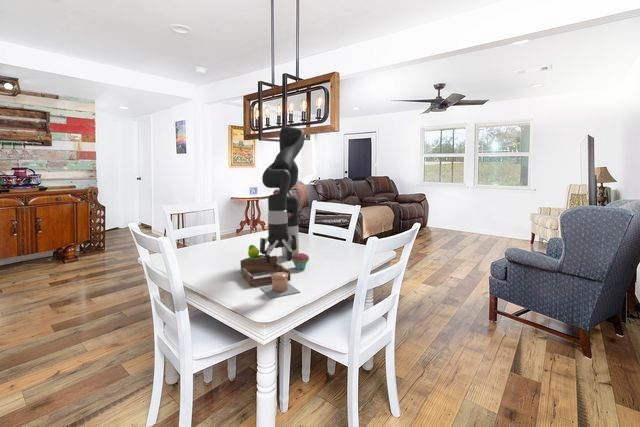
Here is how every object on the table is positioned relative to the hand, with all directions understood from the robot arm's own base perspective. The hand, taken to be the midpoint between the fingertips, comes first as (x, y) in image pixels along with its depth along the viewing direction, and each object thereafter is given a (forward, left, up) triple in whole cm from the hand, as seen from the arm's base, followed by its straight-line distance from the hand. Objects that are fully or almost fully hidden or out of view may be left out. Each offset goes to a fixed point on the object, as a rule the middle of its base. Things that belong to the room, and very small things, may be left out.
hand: (278, 262), depth 131 cm
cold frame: (-18, 0, -11) cm, 21 cm away
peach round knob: (0, 0, -11) cm, 11 cm away
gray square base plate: (0, 0, -11) cm, 11 cm away
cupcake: (-24, +20, -12) cm, 33 cm away
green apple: (-34, +1, -12) cm, 36 cm away
